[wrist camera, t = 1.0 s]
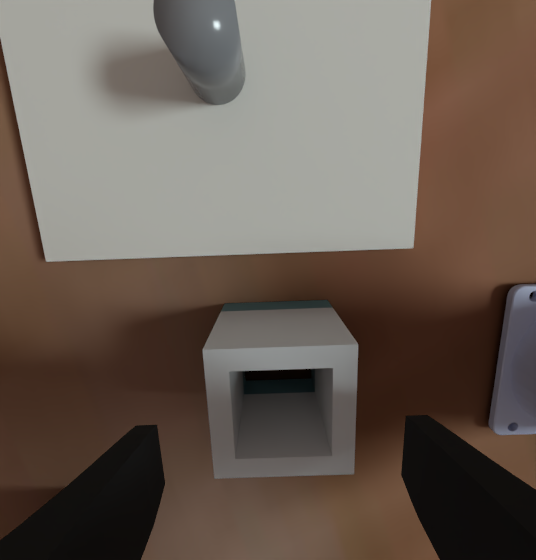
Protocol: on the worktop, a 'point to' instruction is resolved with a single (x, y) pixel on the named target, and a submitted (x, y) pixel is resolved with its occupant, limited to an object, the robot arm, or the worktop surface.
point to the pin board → (218, 123)
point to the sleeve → (281, 391)
